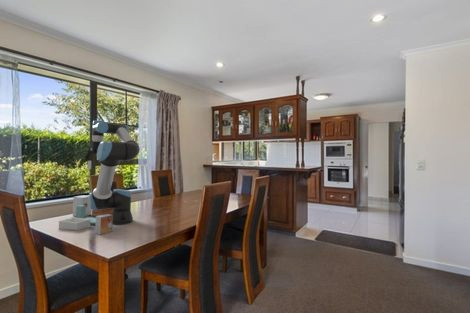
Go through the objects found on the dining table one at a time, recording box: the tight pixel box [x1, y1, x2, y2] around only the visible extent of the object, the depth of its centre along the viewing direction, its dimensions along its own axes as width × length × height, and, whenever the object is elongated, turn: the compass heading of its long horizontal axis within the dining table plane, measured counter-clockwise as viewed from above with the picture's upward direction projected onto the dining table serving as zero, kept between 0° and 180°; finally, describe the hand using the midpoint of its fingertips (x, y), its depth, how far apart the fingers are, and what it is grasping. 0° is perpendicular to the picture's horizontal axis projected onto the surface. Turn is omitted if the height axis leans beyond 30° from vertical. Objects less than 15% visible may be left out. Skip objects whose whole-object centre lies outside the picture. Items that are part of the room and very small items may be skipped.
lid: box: [75, 205, 96, 224], centre depth 172 cm, size 19×11×11 cm, turn 77°
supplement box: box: [72, 195, 92, 217], centre depth 190 cm, size 9×9×15 cm
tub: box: [58, 216, 91, 232], centre depth 158 cm, size 14×10×5 cm
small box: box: [94, 213, 114, 235], centre depth 151 cm, size 8×6×10 cm
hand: (96, 169), depth 183 cm, fingers open, 13 cm apart
